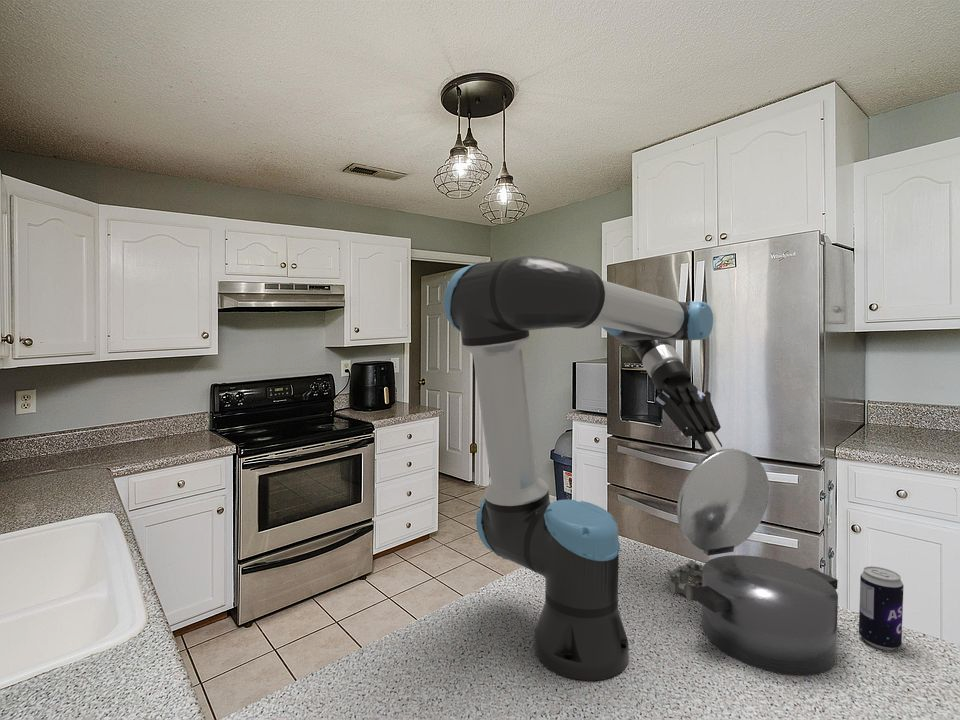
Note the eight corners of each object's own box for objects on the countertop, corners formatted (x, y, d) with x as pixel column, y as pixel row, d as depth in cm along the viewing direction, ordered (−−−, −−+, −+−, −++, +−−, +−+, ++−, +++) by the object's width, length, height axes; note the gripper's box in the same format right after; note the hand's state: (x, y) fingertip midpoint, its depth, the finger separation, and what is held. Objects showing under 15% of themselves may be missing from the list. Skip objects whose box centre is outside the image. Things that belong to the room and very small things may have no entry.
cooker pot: (751, 691, 75) (752, 623, 74) (663, 619, 94) (664, 565, 93) (880, 657, 83) (882, 596, 82) (775, 597, 102) (776, 547, 101)
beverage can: (890, 656, 83) (892, 583, 82) (851, 638, 88) (853, 569, 87) (908, 647, 85) (910, 576, 85) (869, 629, 90) (871, 562, 90)
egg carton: (695, 604, 100) (695, 584, 99) (661, 589, 106) (661, 569, 106) (724, 588, 106) (725, 569, 106) (691, 575, 112) (691, 556, 112)
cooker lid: (686, 454, 92) (677, 450, 94) (676, 560, 95) (668, 553, 97) (774, 447, 98) (764, 443, 100) (762, 547, 101) (752, 541, 103)
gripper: (683, 381, 117) (738, 472, 102) (633, 382, 113) (683, 477, 98) (700, 358, 112) (761, 451, 97) (649, 359, 108) (704, 456, 93)
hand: (722, 464), depth 98 cm, fingers closed
